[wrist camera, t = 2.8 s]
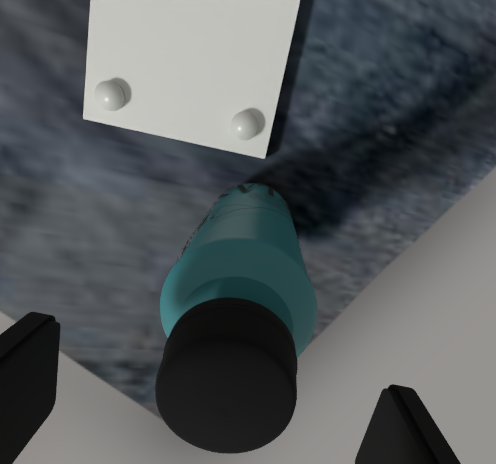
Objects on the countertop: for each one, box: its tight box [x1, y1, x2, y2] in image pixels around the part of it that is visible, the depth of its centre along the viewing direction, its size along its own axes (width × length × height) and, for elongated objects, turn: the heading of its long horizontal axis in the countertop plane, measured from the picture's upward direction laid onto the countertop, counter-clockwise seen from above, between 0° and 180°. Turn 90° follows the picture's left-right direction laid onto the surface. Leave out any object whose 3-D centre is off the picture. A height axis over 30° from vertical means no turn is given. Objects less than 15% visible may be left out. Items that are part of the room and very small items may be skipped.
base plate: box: [83, 0, 300, 159], centre depth 23 cm, size 14×14×2 cm
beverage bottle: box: [155, 182, 318, 453], centre depth 18 cm, size 6×7×20 cm
